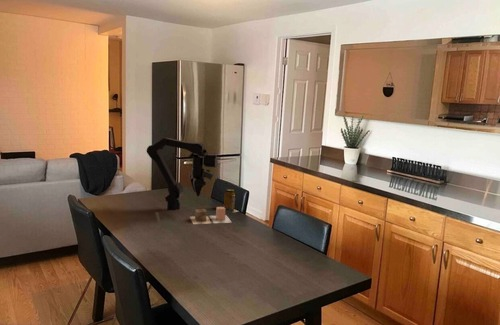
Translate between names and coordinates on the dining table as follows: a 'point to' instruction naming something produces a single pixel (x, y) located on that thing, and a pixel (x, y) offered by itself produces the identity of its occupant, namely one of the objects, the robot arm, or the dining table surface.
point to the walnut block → (200, 215)
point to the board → (211, 219)
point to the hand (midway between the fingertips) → (196, 193)
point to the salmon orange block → (220, 213)
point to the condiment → (229, 200)
